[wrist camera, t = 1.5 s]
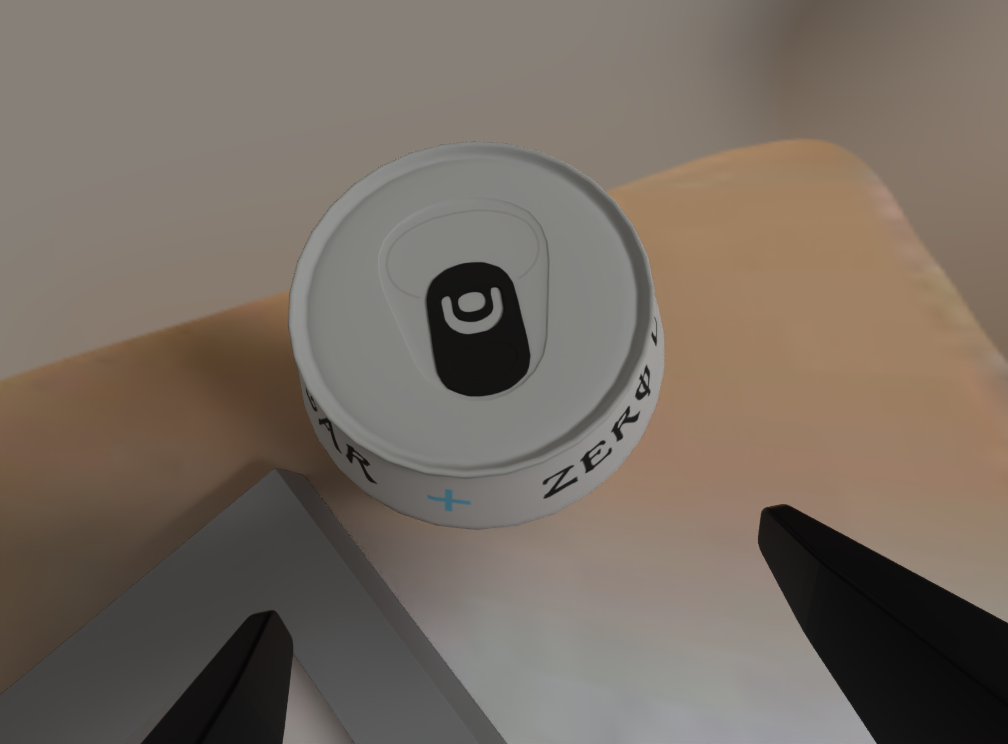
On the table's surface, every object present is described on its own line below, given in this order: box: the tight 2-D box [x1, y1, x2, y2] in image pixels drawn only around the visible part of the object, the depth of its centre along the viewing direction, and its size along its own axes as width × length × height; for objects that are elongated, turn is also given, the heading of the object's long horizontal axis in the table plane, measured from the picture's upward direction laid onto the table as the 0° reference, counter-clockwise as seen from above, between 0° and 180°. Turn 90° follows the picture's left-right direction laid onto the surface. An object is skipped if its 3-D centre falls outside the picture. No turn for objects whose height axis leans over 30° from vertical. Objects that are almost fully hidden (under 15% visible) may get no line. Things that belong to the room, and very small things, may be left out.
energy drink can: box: [288, 141, 664, 530], centre depth 14 cm, size 6×6×15 cm
